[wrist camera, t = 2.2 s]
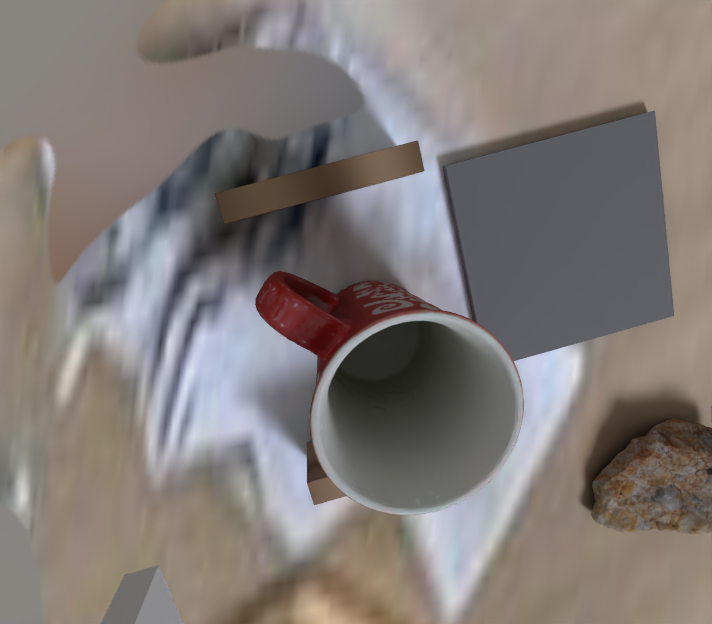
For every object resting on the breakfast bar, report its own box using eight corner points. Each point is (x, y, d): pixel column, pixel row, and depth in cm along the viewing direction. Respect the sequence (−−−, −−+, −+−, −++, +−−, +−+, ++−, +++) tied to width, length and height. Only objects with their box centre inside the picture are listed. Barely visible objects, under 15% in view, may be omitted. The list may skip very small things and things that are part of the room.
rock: (698, 398, 37) (591, 440, 34) (782, 448, 32) (663, 501, 29) (677, 478, 41) (580, 521, 38) (748, 534, 36) (641, 587, 33)
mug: (464, 322, 33) (569, 400, 20) (380, 418, 34) (426, 553, 21) (323, 201, 30) (336, 199, 17) (235, 310, 31) (184, 386, 18)
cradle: (313, 462, 34) (314, 505, 29) (229, 195, 30) (214, 193, 25) (459, 420, 35) (484, 455, 30) (399, 150, 30) (417, 140, 25)
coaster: (483, 365, 34) (486, 368, 33) (442, 166, 30) (445, 165, 30) (667, 313, 34) (674, 315, 34) (648, 112, 31) (654, 110, 30)
